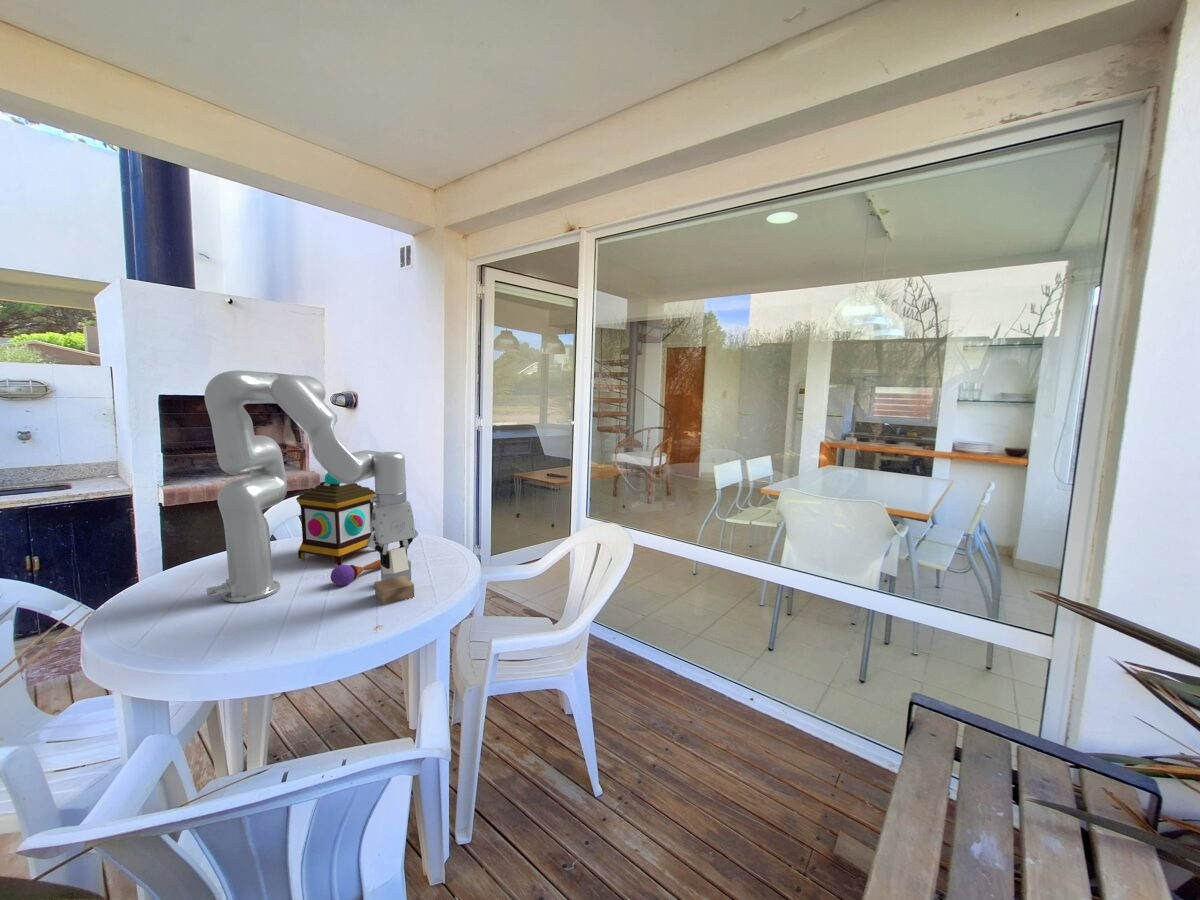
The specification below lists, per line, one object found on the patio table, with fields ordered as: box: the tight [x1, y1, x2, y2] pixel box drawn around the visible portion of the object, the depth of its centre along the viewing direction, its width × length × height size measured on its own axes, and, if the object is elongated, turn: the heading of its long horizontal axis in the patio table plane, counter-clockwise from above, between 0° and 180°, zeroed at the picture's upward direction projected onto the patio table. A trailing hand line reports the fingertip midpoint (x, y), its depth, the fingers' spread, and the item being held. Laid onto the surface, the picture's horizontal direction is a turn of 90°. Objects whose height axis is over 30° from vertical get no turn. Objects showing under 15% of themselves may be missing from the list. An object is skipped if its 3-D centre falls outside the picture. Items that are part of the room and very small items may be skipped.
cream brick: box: [378, 547, 409, 574], centre depth 127 cm, size 7×4×6 cm, turn 49°
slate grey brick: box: [380, 558, 412, 581], centre depth 138 cm, size 7×4×6 cm, turn 140°
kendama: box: [330, 559, 381, 587], centre depth 142 cm, size 6×6×20 cm
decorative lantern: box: [295, 472, 379, 567], centre depth 157 cm, size 20×20×30 cm
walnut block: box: [374, 575, 415, 606], centre depth 128 cm, size 8×8×4 cm
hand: (394, 564), depth 127 cm, fingers closed on cream brick, 3 cm apart
